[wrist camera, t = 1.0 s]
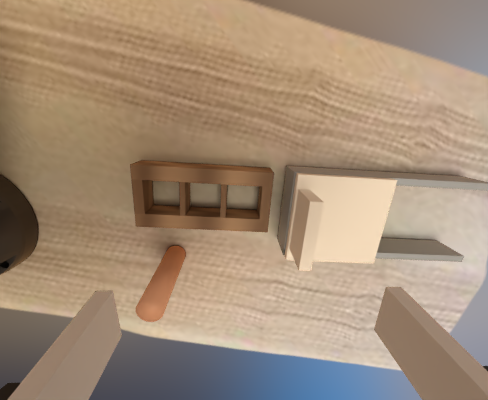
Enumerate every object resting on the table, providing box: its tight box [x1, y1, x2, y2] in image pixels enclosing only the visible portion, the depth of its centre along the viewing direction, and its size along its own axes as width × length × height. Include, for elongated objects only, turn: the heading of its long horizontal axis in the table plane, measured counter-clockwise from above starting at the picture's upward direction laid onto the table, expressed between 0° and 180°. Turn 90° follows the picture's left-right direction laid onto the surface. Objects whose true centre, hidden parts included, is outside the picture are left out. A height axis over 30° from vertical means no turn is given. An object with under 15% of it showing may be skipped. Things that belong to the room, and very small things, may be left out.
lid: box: [285, 173, 397, 271], centre depth 23 cm, size 10×10×5 cm
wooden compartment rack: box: [130, 160, 274, 232], centre depth 27 cm, size 15×7×3 cm, turn 86°
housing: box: [277, 166, 488, 262], centre depth 28 cm, size 22×10×4 cm, turn 86°
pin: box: [136, 246, 186, 322], centre depth 26 cm, size 3×3×10 cm
